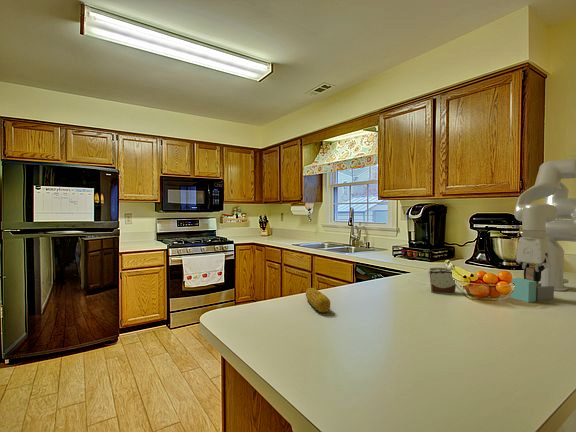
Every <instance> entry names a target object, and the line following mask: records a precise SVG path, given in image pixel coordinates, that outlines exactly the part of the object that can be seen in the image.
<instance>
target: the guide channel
mask: <svg viewBox="0 0 576 432" xmlns="http://www.w3.org/2000/svg"><path fill="white" fill-rule="evenodd" d="M554 294H555V290H554V286H542V287H541V283H539V287H536V301H537V302H538V301H548V300H549V301H550V300H555V299H554V298H555V295H554Z"/></svg>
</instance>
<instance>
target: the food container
mask: <svg viewBox="0 0 576 432" xmlns="http://www.w3.org/2000/svg"><path fill="white" fill-rule="evenodd" d="M428 269H429V270H428V271H427V272H428V273H427V274H428V275H429V280H430V281H429V282H430V290H431V291H430V292H431V294H444V295H445V294H448V295H450V294H451V295H452V294H453V295H455V293H456V288H457V287H456V286H457V283H456V284H455V280H453V278H452V271H451V269H452V268H449V267H448V268H447V267H429V268H428Z"/></svg>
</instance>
